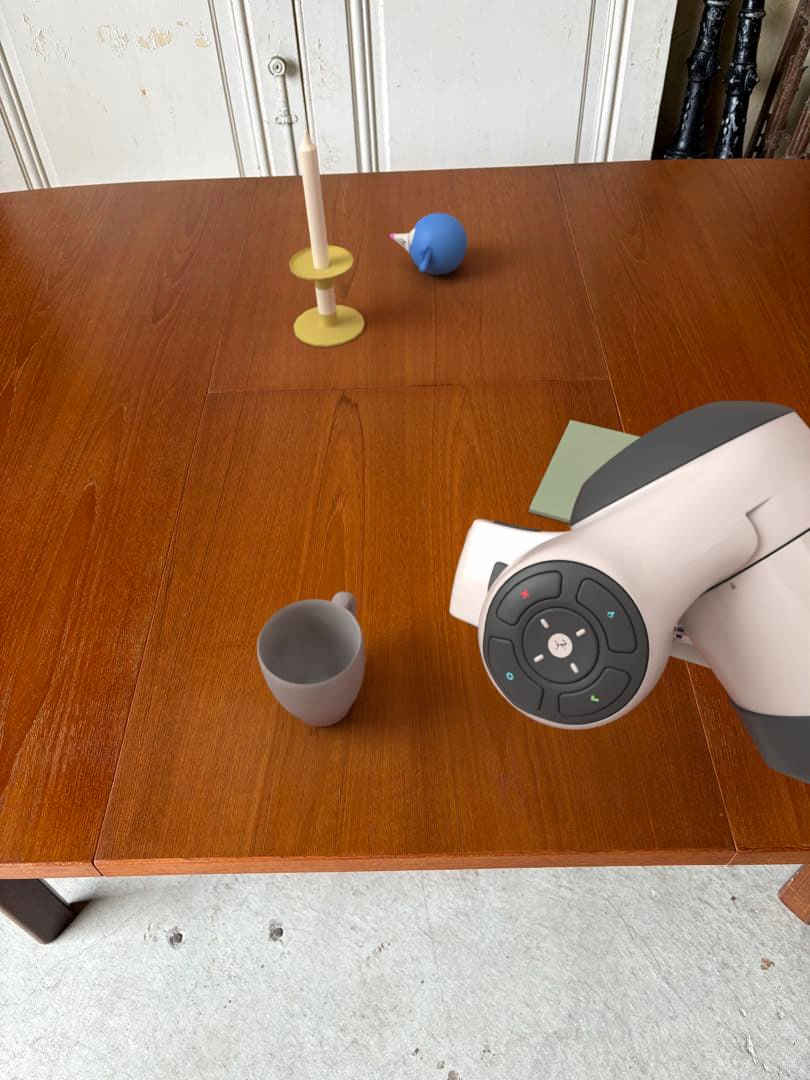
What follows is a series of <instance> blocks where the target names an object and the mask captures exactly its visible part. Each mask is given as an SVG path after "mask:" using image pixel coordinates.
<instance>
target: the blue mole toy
mask: <svg viewBox="0 0 810 1080" xmlns="http://www.w3.org/2000/svg"><path fill="white" fill-rule="evenodd" d="M389 238H390V240H391V241H395V242H396V243H398V244H399V245H400V246H401V247H402V248H403V249H404V250H405V251H406V252H408V253H409V255H410V257H411V259H412V261H413V263H414V264H415V265H416V267H417V268H418V270H419V272H420V273H426V274H429V275H435V276H439V275H440V276H441V275H446V274H450V273H451V272H453V271H455V270H456V269H457V268H458V267H460V265H461V264H462V262H463V260H464V259H465V256H466V253H467V249H468V236H467V232H466V230H465V227H464V226H463V224H462V222H460V221H459V220H458V219H457V218H456V217H455V216H453V215H450V214H448V213H444V212H434V213H429V214H426V215H425V216H423V217H421V218H420V219H419V220H418V221H417V222H416V223H415V225H414V227H413V229H411V230H410V232H405V233H394V232H393V233H390V235H389Z"/></svg>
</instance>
